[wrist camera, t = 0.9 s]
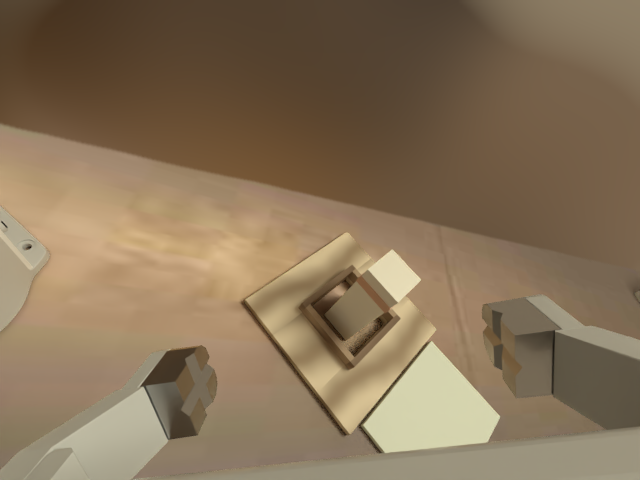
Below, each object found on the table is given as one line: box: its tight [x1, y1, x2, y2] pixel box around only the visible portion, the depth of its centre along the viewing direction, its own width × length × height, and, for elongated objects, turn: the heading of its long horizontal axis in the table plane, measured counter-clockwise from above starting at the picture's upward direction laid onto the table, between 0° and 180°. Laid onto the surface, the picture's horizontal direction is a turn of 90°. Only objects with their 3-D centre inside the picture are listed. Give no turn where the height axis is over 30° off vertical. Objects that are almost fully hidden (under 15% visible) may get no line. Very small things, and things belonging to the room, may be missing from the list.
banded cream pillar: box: [324, 250, 421, 341], centre depth 40 cm, size 5×5×14 cm
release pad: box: [360, 341, 500, 453], centre depth 42 cm, size 13×16×1 cm
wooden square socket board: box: [244, 232, 436, 435], centre depth 45 cm, size 20×20×3 cm
